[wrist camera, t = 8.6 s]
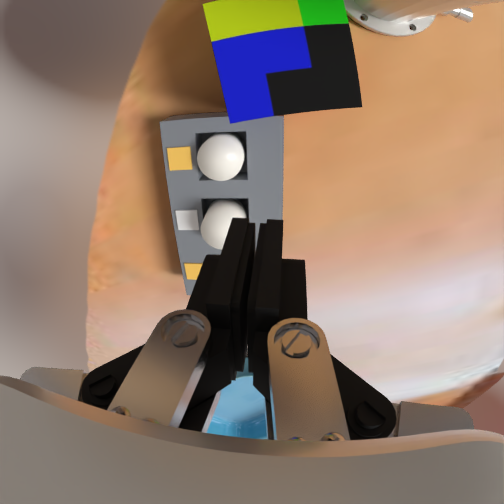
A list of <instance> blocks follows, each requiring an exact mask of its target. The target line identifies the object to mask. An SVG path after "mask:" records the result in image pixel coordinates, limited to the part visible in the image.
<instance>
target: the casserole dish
mask: <svg viewBox="0 0 504 504" xmlns="http://www.w3.org/2000/svg"><path fill="white" fill-rule="evenodd" d="M207 433H210V434H218V435H225V436H233V437H243V438H253V439H267V433H266V420H265V407H264V396H263V395H262V394H261V393H260V392H259V391H258V390H257V389H256V388H255V387H254V386H253V373H249V372H248V357H246V358H245V365H244V371H243V372H238V371H237V375H236V381H233V380H232V382H231V384H230V385H228V386H226V387H225V388H223V389H222V391H221V396H220V399H219V401H218V404H217V407H216V409H215V412H214V415H213V417H212V420H211V422H210V425H209V428H208V430H207Z"/></svg>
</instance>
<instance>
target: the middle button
mask: <svg viewBox="0 0 504 504" xmlns="http://www.w3.org/2000/svg"><path fill="white" fill-rule="evenodd" d="M233 217H234V218H247V212H246V209H245V207H244V206H243V204H242V203H241V202H239V201H238V200H236V199H234V198H219V199H216V200H215V201H213V202H212V203H211V205H210V206H209V208H208V210H207V213H206V215H205V217H204V219H203V221H202V224H201V234H202V237H203V239H204V240H205V241H206V243H208V244H209V245H210V246H212V247H214V248H216V249H221V250H222V248H223V245H224V242H225V239H226V236H227V233H228V229H229V226H230V223H231V220H232V218H233Z"/></svg>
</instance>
